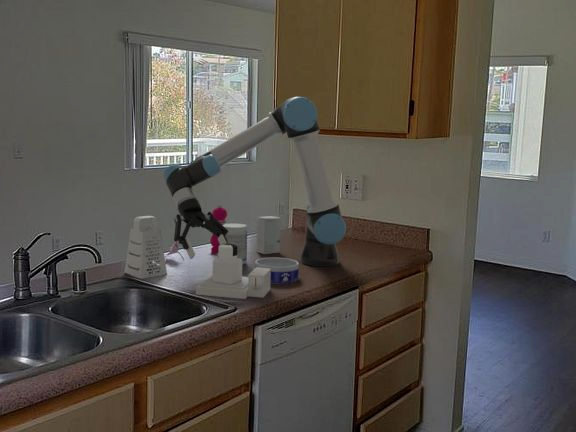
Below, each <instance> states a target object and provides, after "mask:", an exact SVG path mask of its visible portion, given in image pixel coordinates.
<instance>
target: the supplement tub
mask: <svg viewBox="0 0 576 432" xmlns="http://www.w3.org/2000/svg"><path fill="white" fill-rule="evenodd" d="M223 226H224V227H225V228H226V229H227V230H228V233H227V234H226V235H225V237H226V239H227V241H228V243H229V244H235V245H236V246H237V247H238V249H237V258H241V259H242V266H243V265H245V264H246V263H247V261H248V258H247V257H248V228H247V227H248V226H247V224H244V223H243V224H242V223H225V224H224V225H223Z"/></svg>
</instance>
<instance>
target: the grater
mask: <svg viewBox="0 0 576 432" xmlns="http://www.w3.org/2000/svg"><path fill="white" fill-rule="evenodd" d="M150 218H151V226H142V227H140V224H141V223H140V222H141V220H143V219H150ZM127 246H128V247H127V253H126V259H125V268H124V274H126V273H127V275H129V274H130V276H132V277H134V278H138V279H140V280H141V279H142V280H143V279H147V278H153V277H159V276H165V274H166V275H168V270H167V265H166V257H165V256H166V255H165V251H164V244H163V236H162V230H161V229H159V219H158V218H157V217H156V216H153V215H144V216H141V215H140V216H136V217H135V218H134V219H133V228H130V231H129V239H128V245H127Z"/></svg>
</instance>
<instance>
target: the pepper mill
mask: <svg viewBox="0 0 576 432" xmlns="http://www.w3.org/2000/svg"><path fill="white" fill-rule="evenodd" d="M211 213H212V215H213V217H214V218H215V219H217V220H218V221H219V222H220V223H221V224H222V225H224V224H227V222H226V221H227V220H226V218H227V217H228V211H227V210H226V208H224V207H223V205H222V204H221V203H218V204H217V207H215V208H214V209H213V210H212V212H211ZM211 234H212V235H211V237H210V245H211V246H212V247H211V248H210V251H211V253H212V254H216V255H218V252H219V245H220V243H219V241H218V238H219V237H217V236H216V235H214V234H213V233H211ZM219 234H220V233H219Z"/></svg>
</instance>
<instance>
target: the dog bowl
mask: <svg viewBox="0 0 576 432" xmlns="http://www.w3.org/2000/svg"><path fill="white" fill-rule="evenodd" d="M256 267H257V268H270V269H271V281H270V285H271V284H273V285H275V284H276V285H284V284H285V285H286V284H291V283H295V282H297V281H298V280H299V270H300V269H299V268H300V264H299V262H298V261H297V260H295V259H291V258H288V257H287V258H286V257H262V258H258V259H256V260H255V261H254V269H255V268H256Z"/></svg>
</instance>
